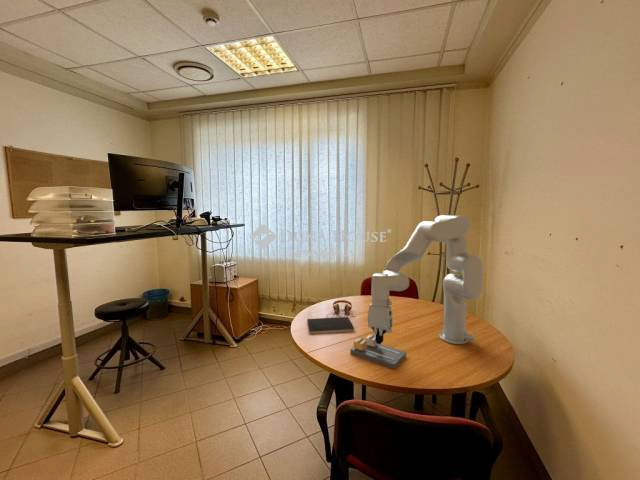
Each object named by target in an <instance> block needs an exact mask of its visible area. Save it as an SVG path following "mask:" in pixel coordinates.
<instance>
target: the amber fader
mask: <svg viewBox="0 0 640 480" xmlns="http://www.w3.org/2000/svg"><path fill="white" fill-rule="evenodd" d="M366 341H367V340H364V338H363V337H358V338H356V339H355V340H354V341H353V347H354V348H355V349H358V350H361V351H362V350H363V349H365V348H366Z"/></svg>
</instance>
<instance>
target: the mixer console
mask: <svg viewBox="0 0 640 480" xmlns="http://www.w3.org/2000/svg"><path fill="white" fill-rule="evenodd" d="M363 340H366V338H363ZM350 354H351V355H352V356H353V355H354V356H356V357H359V358H362V359H364V360H367V361H370V362H372V363H376V364H378V365H381V366H384V367H387V368H390V369H391V370H392V369H393V370H395V369H396V368H397V367H398V366H399V365H400V364H401V363H402V361H404V359H405V358H406V357H407V352H406V351H404V350H401V349H398V348H394V347H390V346H388V345H384V344H382V343H381V344H377V345H375V346H374V347H372V346H369V345H366V348H365V349H363V350H362V351H361V350H358V349H355V348H354V346H353V347H352V348H350Z"/></svg>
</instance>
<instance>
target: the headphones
mask: <svg viewBox="0 0 640 480" xmlns="http://www.w3.org/2000/svg"><path fill="white" fill-rule="evenodd" d="M339 303H340V304H341V303H343V304H344V303H345V306H344V309H343V311H344V312H342V313H341V315H342V314H343V315H344V314H348V313H350V311H351V310H352V308H353V304H352V302H351V301H348V300H345V299H338V300H335V301H334V302H333V304H332V308H333V311H334V312H335V313H332V315H334V316H331V317H330V318H336V317H342V316H341V315H340V312H341V311H340V308H341V307H340V305H339ZM328 315H331V313H329V314H327V315H326V317H325V318H328ZM335 315H337V316H335ZM343 317H346V315H344V316H343ZM352 317H355V318H356V317H357V316H356V315H355V316H354V315H351V317H349V319H350V320H351V319H352Z"/></svg>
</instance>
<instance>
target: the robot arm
mask: <svg viewBox="0 0 640 480" xmlns="http://www.w3.org/2000/svg"><path fill="white" fill-rule="evenodd" d="M471 226H472V225H471V221H470V219H469V218H468V217H466V216H465V215H461V214H460V215H457V214H456V215H455V214H441V215H438V216H436V217H435V218H434V221H433V220H432V221H431V220H424V221H421V222H420V223H419V224H418V225H417V226H416V228H415V229H414V231H413V233H412V235H411V236H410V238H409V239H408V240H407V243H406V244H405V246H404V247H403V248H402V249H400V250H399V251H398V252H397V253H396V254H394V255H393V256H392V257H391V258H390V259H389V260H388V261H387V262H386V265H385V266H384V267H383V269H382V272H374V273H373V274H372V275H371V290H370V291H371V292H370V293H371V295H370V296H371V297H370V300H371V301H370V304H369V307H368V311H367V313H368V314H367V327H368V328H369V329H371V330H372V331H373V334H374V335H375V336H376V338H375V340H376V343H377V344H382V343H383V342H384V335H385V334H390V333H392V330H393V329H392V328H393V325H394V321H393V310H392V305H393V302H392V301H391V300H390V291H394V292H402V291H405V290H407V289H408V288H409V287H410V279H409V278H408V276H407V275H406V274H404V273H401V272H400V270H401V269H402V268H403V267H404V266H406V265H408V264H410V263H412V262H415V261H418V260H420V259H423V257H424V255H425V253H426V251H427V250H428V248H429V246H430V245H431V243H432V242H437V243H444V242H445V243H446V249H445V250H446V254H445V255H446V256H445V257H446V259H445V261H446V263H445V264H446V267H447V268H448V270H450V271H452V273H448V274H446V275H445V276H444V278H443V280H442V287H443V288H442V289H443V297H444V298H443V299H444V300H443V301H444V303H443V320H442V321H443V323H442V325H443V327H442V330H441V332H439V335H438V336H439V338H440V339H441V340H442V341H444V342H447V343H449V344H452V345H465V344H468V343H469V341H471V342H475V341H476V336H474V334H470V333H468V330H467V329H466V321H467V320H466V319H467V317H466V316H467V300H469V301H475V300H478V299H479V298H480V297H481V295H482V293H483V282H484V281H483V276H484V266H483V261H482V259H481V257H479V256H478V255H476V254H473V253H469V252H468V247H467V246H468V245H467V243H468V242H467V238H466V234H467V233H468V232H469V230H470V229H471ZM453 272H455V273H453Z"/></svg>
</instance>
